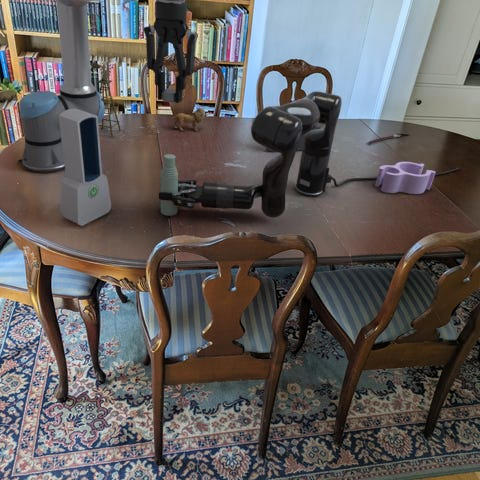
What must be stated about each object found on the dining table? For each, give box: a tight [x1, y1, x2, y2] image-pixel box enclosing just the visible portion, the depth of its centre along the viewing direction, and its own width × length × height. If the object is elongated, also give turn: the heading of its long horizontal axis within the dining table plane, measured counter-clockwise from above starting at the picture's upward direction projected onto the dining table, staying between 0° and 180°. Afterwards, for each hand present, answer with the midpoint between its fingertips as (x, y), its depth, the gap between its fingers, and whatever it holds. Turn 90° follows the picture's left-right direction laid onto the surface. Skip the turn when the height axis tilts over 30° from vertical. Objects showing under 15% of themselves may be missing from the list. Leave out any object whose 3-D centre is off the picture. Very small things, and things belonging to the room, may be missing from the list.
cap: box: [161, 88, 176, 103], centre depth 122 cm, size 4×4×2 cm
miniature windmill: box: [91, 55, 122, 138], centre depth 181 cm, size 9×8×30 cm
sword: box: [367, 133, 409, 145], centre depth 213 cm, size 31×3×1 cm, turn 126°
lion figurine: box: [170, 107, 206, 132], centre depth 198 cm, size 15×5×9 cm, turn 110°
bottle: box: [160, 153, 179, 217], centre depth 135 cm, size 5×5×18 cm
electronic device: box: [59, 109, 112, 227], centre depth 126 cm, size 12×8×30 cm, turn 148°
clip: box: [374, 161, 436, 195], centre depth 169 cm, size 20×12×7 cm, turn 109°
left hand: (170, 99), depth 122 cm, fingers closed on cap, 4 cm apart
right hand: (160, 191), depth 136 cm, fingers closed on bottle, 5 cm apart
